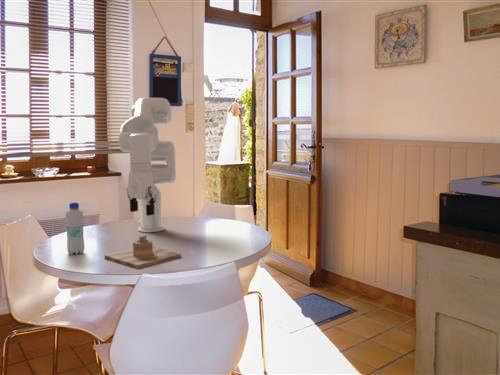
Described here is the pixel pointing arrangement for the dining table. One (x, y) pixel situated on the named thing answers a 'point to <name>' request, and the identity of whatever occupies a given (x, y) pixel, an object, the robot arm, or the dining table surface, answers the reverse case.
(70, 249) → the bottle
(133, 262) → the post board
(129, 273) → the dining table surface
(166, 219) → the dining table surface
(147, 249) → the collar
